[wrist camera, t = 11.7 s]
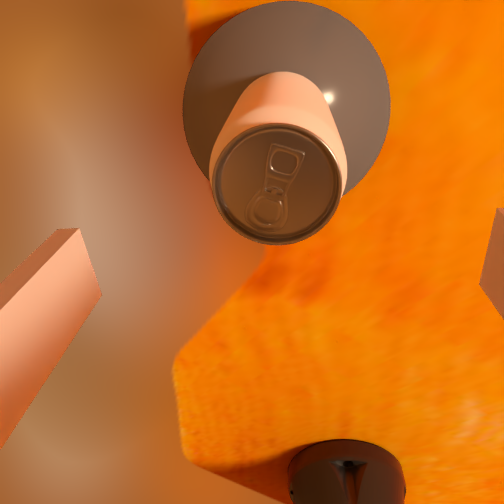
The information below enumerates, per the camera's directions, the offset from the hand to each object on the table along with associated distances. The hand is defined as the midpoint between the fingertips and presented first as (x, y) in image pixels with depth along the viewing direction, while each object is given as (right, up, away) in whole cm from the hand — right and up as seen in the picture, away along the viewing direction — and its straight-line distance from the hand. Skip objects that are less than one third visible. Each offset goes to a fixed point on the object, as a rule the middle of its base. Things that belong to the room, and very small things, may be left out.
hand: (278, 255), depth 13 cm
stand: (+2, +11, +18) cm, 21 cm away
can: (+1, +9, +15) cm, 17 cm away
